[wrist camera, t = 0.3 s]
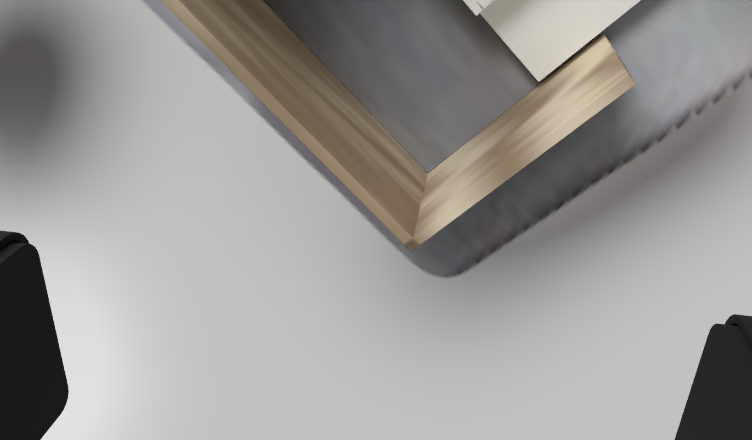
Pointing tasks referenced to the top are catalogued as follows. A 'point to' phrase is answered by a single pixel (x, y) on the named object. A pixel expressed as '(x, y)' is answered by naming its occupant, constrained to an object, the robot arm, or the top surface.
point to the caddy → (369, 138)
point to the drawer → (548, 27)
